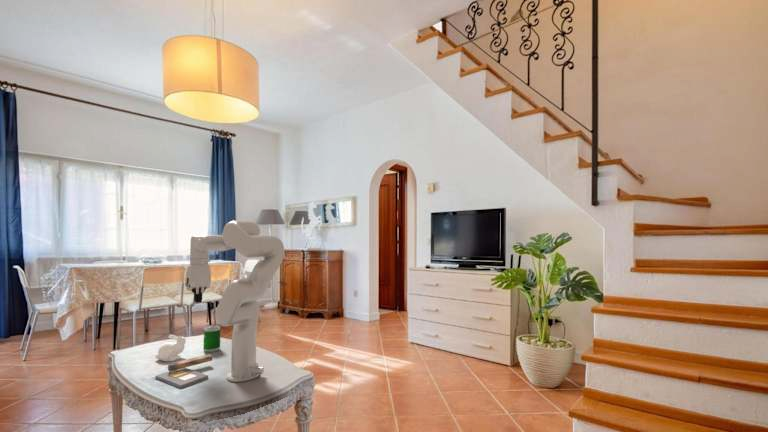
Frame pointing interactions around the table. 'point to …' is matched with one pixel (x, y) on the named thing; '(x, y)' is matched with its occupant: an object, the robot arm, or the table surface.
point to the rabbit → (171, 349)
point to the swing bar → (189, 362)
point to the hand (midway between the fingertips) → (198, 302)
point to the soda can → (212, 338)
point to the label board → (181, 377)
